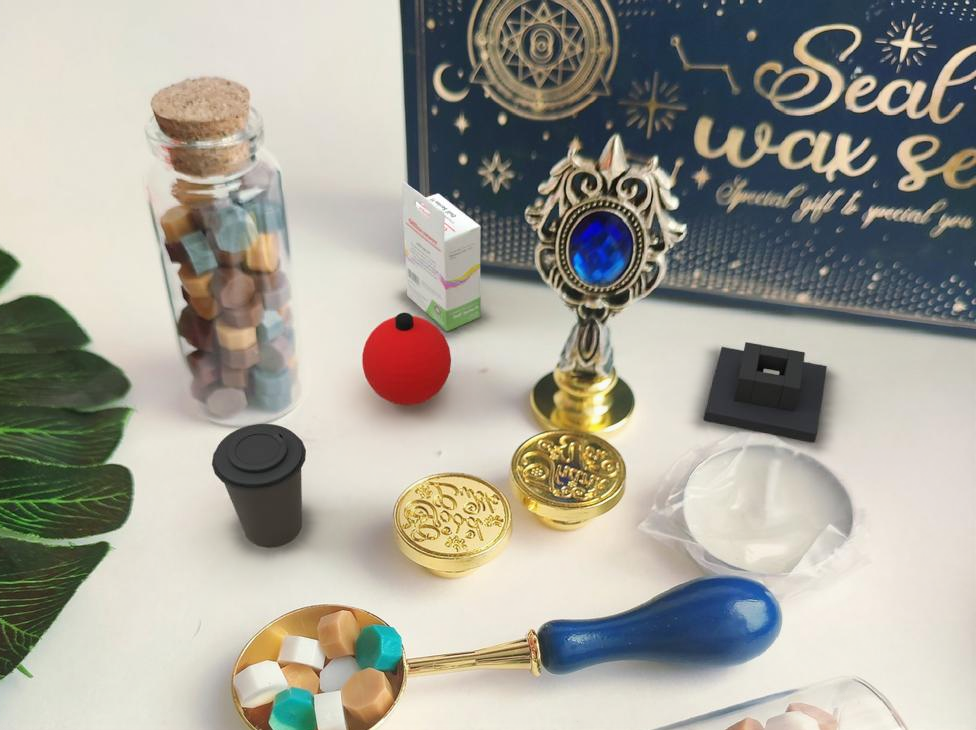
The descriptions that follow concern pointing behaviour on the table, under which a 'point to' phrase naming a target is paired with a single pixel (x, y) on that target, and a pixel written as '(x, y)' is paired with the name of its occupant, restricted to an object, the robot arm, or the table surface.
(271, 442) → the coffee cup
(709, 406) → the base pad
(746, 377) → the dark grey square block
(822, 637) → the table surface
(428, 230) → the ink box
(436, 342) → the ornament
